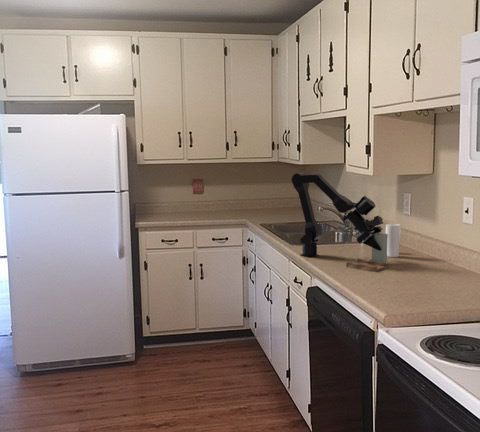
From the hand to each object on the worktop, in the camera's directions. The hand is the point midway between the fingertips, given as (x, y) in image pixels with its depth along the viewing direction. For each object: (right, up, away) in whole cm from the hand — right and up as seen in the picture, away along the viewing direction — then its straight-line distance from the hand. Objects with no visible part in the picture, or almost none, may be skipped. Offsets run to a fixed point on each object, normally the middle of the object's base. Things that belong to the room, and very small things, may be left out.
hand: (382, 249), depth 238 cm
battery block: (-1, -7, +2) cm, 7 cm away
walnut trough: (-8, -8, -6) cm, 13 cm away
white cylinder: (+9, -5, +17) cm, 20 cm away
